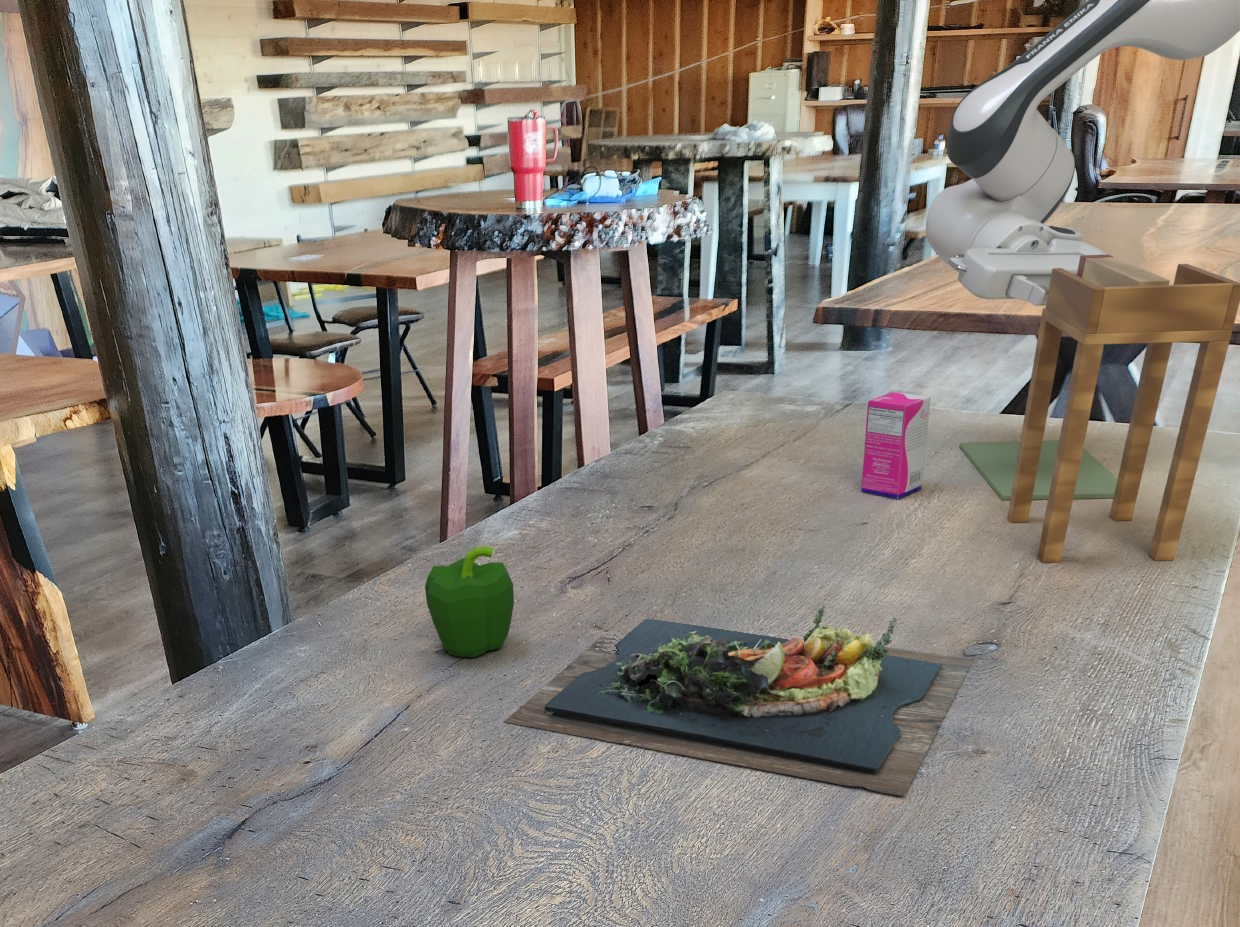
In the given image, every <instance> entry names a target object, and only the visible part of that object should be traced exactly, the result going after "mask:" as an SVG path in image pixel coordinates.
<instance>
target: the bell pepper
mask: <svg viewBox="0 0 1240 927" xmlns="http://www.w3.org/2000/svg"><path fill="white" fill-rule="evenodd" d="M493 552H494V547H491V546H487V545H484V546H478V547H477V546H476V547H474V548H473V549H471V550H470V551H468V552H467V553H466V554H465V556H464V557H462V558H460V559H458V560H456V561H455V562H452V563H450V564H448V565H433V566H432V567H431V569H430V571H429V573H428V575H427V578H426V581H425V584H424V590H425V596H426V597H425V598H426V604H427V605H426V606H427V607H428V612H429V614H430V617H431V620H432V623H433V625H434V628H435V630H436V634H437V635H438V638H439V640H440V643H441V644H442V645H443V648H444V649H445V650H446V651H447V653H448V654H449V655H452V656H455V657H459V658H475V657H478V656H481V655H483V654H486V652H488V651H494V650H499V649H501V648H502V647H503V645H504V643H505V642H506V639H507V637H508V636H509V631H510V628H511V624H512V622H511V621H512V617H513V613H514V612H513V611H514V606H515V595H514V583H513V581H512V578H511V576H510V574H509V571H508V570H507V568H506V565H505V564H504V562H487V563H484V564H481V565H480V564H478V563H477V562H475V561H476V560H477V559H478V558H479V557H486V558H489V559H491V558H492V555H493Z"/></svg>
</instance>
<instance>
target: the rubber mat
mask: <svg viewBox="0 0 1240 927" xmlns="http://www.w3.org/2000/svg"><path fill="white" fill-rule="evenodd" d="M1058 444H1059V439H1055V440H1052V439H1051V440H1043V442H1042V447H1041V453H1040V458H1039V464H1038V469H1037V475H1036V480H1035V486H1034V491H1033V497H1032V501H1033V500H1034V501H1035V500H1048V497H1049V492H1050V487H1051V481H1052V476H1053V471H1054V465H1055V460H1056V455H1057V449H1058ZM1019 445H1020V440H1014V441H1009V440H1007V441H974V442H973V441H971V442H970V441H969V442H967V441H966V442H959V449H960V450H961V451H962V452H963V453H964V455H965V456H966V457H967V458H968V460H970V462H971V463H972V464H973V466H974V467H975V468H976V469H977V471H978V472H979V473H980V475H981V476H982V477H983V478H984V479H985V481H986V482H987V484H988V485H989V486H990V488H992V490H993V491H994V492H995V494H996V495H997V496H998V497H999V498H1000V499H1001V501H1010V498H1011V492H1012V487H1013V481H1014V475H1015V469H1016V463H1017V457H1018V451H1019ZM1117 479H1118V477H1117V476H1115V475H1114V474H1113V473H1112V472H1111V471H1110V470H1109V469H1107V467H1106V466H1104V465H1103V464H1102V463H1101V462H1100V461H1099V460H1098V459H1096V457H1094V456H1093V455H1092V454H1091V453H1090V452H1088V451H1087V449H1085V448H1084V447H1083V452H1082V457H1081V462H1080V467H1079V472H1078V477H1077V482H1076V487H1075V492H1074V497H1073V500H1078V499H1079V500H1082V499H1084V500H1085V499H1113V498H1114V493H1115V488H1116V484H1117Z"/></svg>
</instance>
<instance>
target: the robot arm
mask: <svg viewBox="0 0 1240 927" xmlns="http://www.w3.org/2000/svg"><path fill="white" fill-rule="evenodd" d="M1239 32H1240V0H1087V1H1085V2H1084V3H1082V5H1080V6H1079V7H1078V8H1077V9H1076V10H1074V11H1073V12H1072V13H1070V15H1068V16H1067V17H1066V18H1065V19H1063V21H1061V22H1060V23H1059V24H1058V25H1056V26H1055V27H1054V28H1053V29H1051V30H1050V31H1049V32H1048V33H1046V35H1044V36H1043V37H1042V38H1041V39H1040V40H1038V41H1037V42H1035V44H1033V45H1032V46H1031V47H1030V48H1028V49H1027V51H1025V52H1023V53H1022V54H1021V55H1020V56H1019V57H1018V58H1016V60H1014V61H1012V62H1011V63H1010V64H1009V65H1008V66H1005V68H1003V69H1002V70H1000V71H999V72H997V73H996V74H994V75H992V76H990V77H989V78H987V79H986V80H984V81H982V82H981V83H980V84H978V85H976V86H975V87H974V88H972V89H971V90H970V91H969V92H967V94H966V95H965V96H963V98H961V100H960V101H959V103H958V104H957V106H956V107H955V109H954V110H953V113H952V115H951V118H950V120H949V126H948V130H947V137H946V154H947V157H948V160H949V161H950V162H951V163H952V164H953V165H955V166H956V167H957V168H958V169H959V170H960V171H962V172H963V173H964V174H965V175H966V176H968V177H969V178H970V179H969V180H967V181H965V182H963V183H960V184H955V185H951V186H948V187H946V188H944V189H943V190H941V191H940V192H938V194H937V195H936V196H935V197H934V198H933V200H932V202H931V203H930V205H929V207H928V210H927V213H926V218H925V234H926V238H927V241H928V244H929V246H930V247H931V249H932V250H933V252H934V253H935V254H936V255H937V256H938V257H939V259H941V260H942V261H943V262H945V264H947V265H948V266H949V267H950V268H951V269H952V270H954V271H956V272H958V275H957V280H958V282H959V283H960V284H961V285H962V286H963V288H965V290H967V291H968V292H969V293H970V294H972V295H973V296H974V297H976V298H979V299H983V300H1021V301H1024V302H1029V303H1030V304H1032V305H1033V306H1035V307H1041V306H1042V307H1043V306H1044V307H1045V306H1046V303H1047V297H1048V291H1049V285H1050V280H1051V274H1052V269H1053V268H1062V269H1064V270H1066V271H1068V272H1070V273H1073V274H1075V275H1077V271H1078V266H1079V260H1080V256H1081V255H1107V253H1106V252H1105V251H1103V250H1101V249H1100V248H1099V247H1097V246H1095V245H1093V244H1091V243H1088V242H1086V241H1082V240H1083V234H1082V233H1081V232H1079V231H1077V230H1075V229H1070V228H1066V227H1059V226H1055V225H1048V224H1045V223H1046V222H1047V221H1048V220H1049V218H1050V217H1052V216H1053V214H1054V212H1055V211H1056V210H1057V209H1058V208H1059V206H1060V205H1061V203H1062V202H1063V201H1064V199H1065V198H1066V195H1067V194H1068V192H1069V190H1070V188H1071V185H1072V183H1073V179H1074V176H1075V172H1076V171H1075V169H1076V159H1075V155H1074V153H1073V151H1072V150H1071V149H1070V148H1069V147H1068V145H1067V144H1066V143H1065V141H1064V140H1063V138H1062V137H1061V136H1060V135H1059V134H1058V133H1057V131H1056V130H1055V129H1054V128H1053V127H1052V126H1050V124H1049V122H1048V121H1047V120H1046V119H1045V117H1044V116H1043V115H1042V114H1041V112H1040V111H1039V110H1038V107H1039V105H1040V104H1041V102H1042V101H1043V100H1044V99H1046V98H1047V97H1049V95H1051V94H1052V93H1053V92H1054V91H1055V90H1057V89H1058V88H1059V87H1061V86H1062V85H1063V84H1064V83H1065V82H1067V81H1068V80H1069V79H1071V78H1072V77H1073V76H1074V75H1076V74H1077V73H1078V72H1080V70H1082V69H1083V68H1084V67H1086V66H1087V65H1088V64H1089V63H1090V62H1091V61H1093V60H1094V59H1096V58H1097V57H1098V56H1100V55H1102V54H1103V53H1105V52H1107V51H1110V50H1112V49H1115V48H1121V47H1130V48H1131V47H1133V48H1138V49H1140V50H1144V51H1146V52H1148V53H1151V54H1154V55H1156V56H1159V57H1161V58H1164V59H1168V60H1176V61H1189V60H1195V59H1200V58H1203V57H1206V56H1208V55H1210V54H1212V53H1213V52H1215V51H1216V50H1218V49H1220V48H1221V47H1222V46H1224V45H1226V43H1227V42H1229V41H1230V40H1231V39H1232V38H1233V37H1235V36H1236V35H1238V33H1239Z"/></svg>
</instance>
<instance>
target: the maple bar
mask: <svg viewBox="0 0 1240 927" xmlns="http://www.w3.org/2000/svg"><path fill="white" fill-rule="evenodd" d="M1106 254H1107V253H1106ZM1077 276H1079V277H1081V278H1083V279H1085V280H1087V281H1089V282H1091V283H1093V284H1095V285H1097V286H1099V287H1122V286H1153V285H1170V283H1171V280H1170V279H1168V278H1166V277H1163V276H1161V275H1158V274H1156V273H1153V272H1151V271H1148V270H1146V269H1143V268H1140V267H1138V266H1136V265H1133V264H1130V263H1128V262H1125V261H1124V260H1122V259H1118V258H1116V257H1114V256H1113V255H1111V254H1107V255H1081V256H1080V260H1079V266H1078V271H1077Z"/></svg>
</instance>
